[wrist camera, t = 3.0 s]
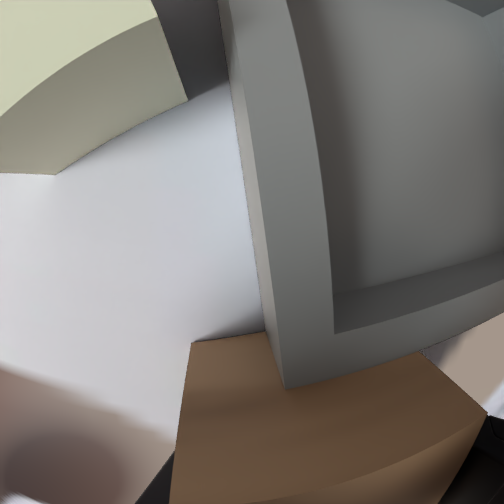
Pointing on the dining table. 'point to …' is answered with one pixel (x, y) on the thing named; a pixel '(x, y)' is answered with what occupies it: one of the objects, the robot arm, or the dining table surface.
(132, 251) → the dining table surface
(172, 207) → the dining table surface
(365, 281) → the tray
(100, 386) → the dining table surface
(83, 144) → the sage cube
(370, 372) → the walnut cube
